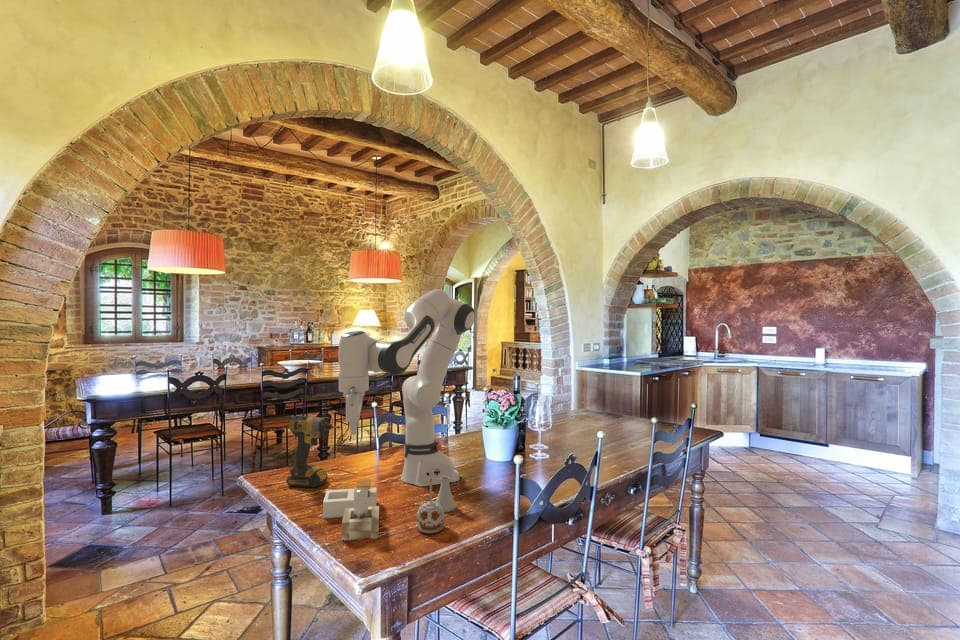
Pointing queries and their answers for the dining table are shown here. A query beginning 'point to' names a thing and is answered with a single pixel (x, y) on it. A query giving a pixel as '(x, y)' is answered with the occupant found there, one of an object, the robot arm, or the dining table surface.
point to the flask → (445, 496)
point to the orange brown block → (364, 484)
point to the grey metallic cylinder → (360, 503)
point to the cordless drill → (307, 450)
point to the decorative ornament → (430, 515)
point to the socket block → (343, 501)
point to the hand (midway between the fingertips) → (354, 430)
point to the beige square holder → (360, 524)
